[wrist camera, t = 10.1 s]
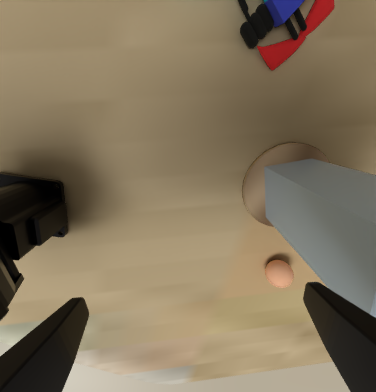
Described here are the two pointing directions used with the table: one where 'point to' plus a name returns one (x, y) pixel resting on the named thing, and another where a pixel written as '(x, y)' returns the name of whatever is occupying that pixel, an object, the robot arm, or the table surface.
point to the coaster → (256, 176)
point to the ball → (279, 273)
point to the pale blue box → (328, 223)
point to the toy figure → (276, 15)
